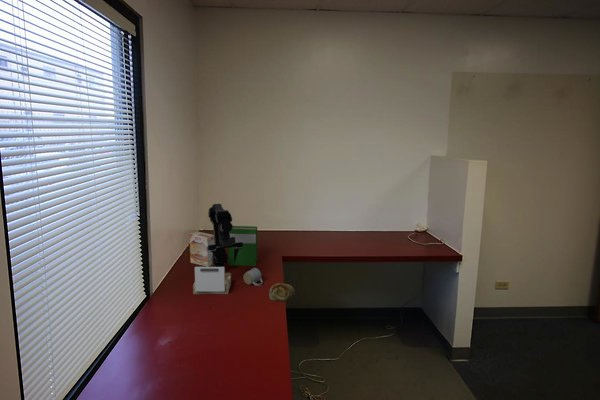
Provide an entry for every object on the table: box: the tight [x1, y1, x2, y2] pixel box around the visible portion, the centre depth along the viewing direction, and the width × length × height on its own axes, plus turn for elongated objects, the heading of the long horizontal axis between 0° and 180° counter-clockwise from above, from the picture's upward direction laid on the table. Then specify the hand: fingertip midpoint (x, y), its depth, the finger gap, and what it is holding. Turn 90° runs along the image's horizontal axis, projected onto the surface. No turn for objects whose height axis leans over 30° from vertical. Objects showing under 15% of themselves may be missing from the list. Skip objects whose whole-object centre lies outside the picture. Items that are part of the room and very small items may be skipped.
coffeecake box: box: [189, 231, 215, 267], centre depth 233 cm, size 15×7×20 cm, turn 62°
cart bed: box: [192, 272, 232, 295], centre depth 198 cm, size 13×18×6 cm
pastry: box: [268, 282, 296, 302], centre depth 191 cm, size 14×12×8 cm
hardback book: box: [227, 225, 258, 267], centre depth 234 cm, size 18×7×24 cm, turn 90°
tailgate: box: [194, 266, 226, 291], centre depth 189 cm, size 2×15×13 cm, turn 94°
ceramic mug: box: [243, 267, 264, 287], centre depth 206 cm, size 11×8×8 cm
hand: (226, 262), depth 197 cm, fingers open, 9 cm apart
